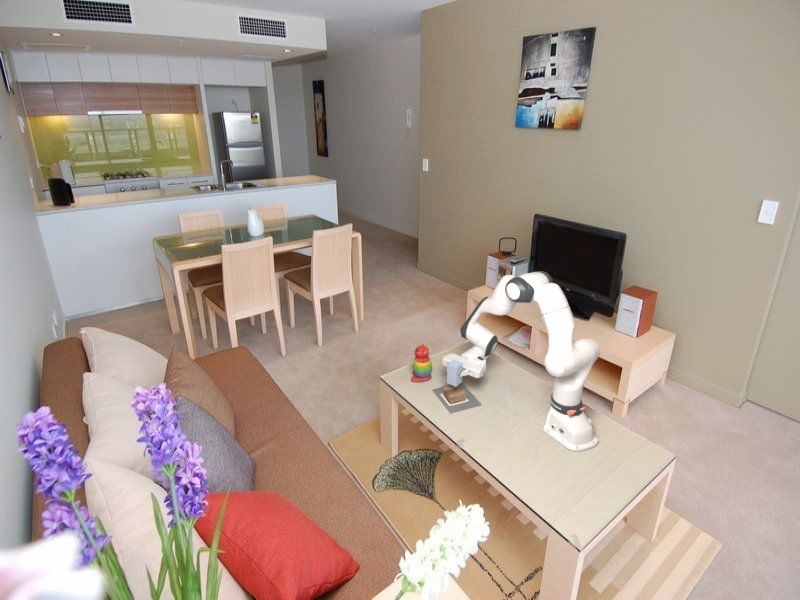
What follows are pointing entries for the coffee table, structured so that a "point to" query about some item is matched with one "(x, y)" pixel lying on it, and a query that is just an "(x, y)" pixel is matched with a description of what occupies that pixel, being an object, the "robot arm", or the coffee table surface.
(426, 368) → the stacking bear
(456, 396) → the base block
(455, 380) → the pillar
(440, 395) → the build mat
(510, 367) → the coffee table surface
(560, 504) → the coffee table surface
